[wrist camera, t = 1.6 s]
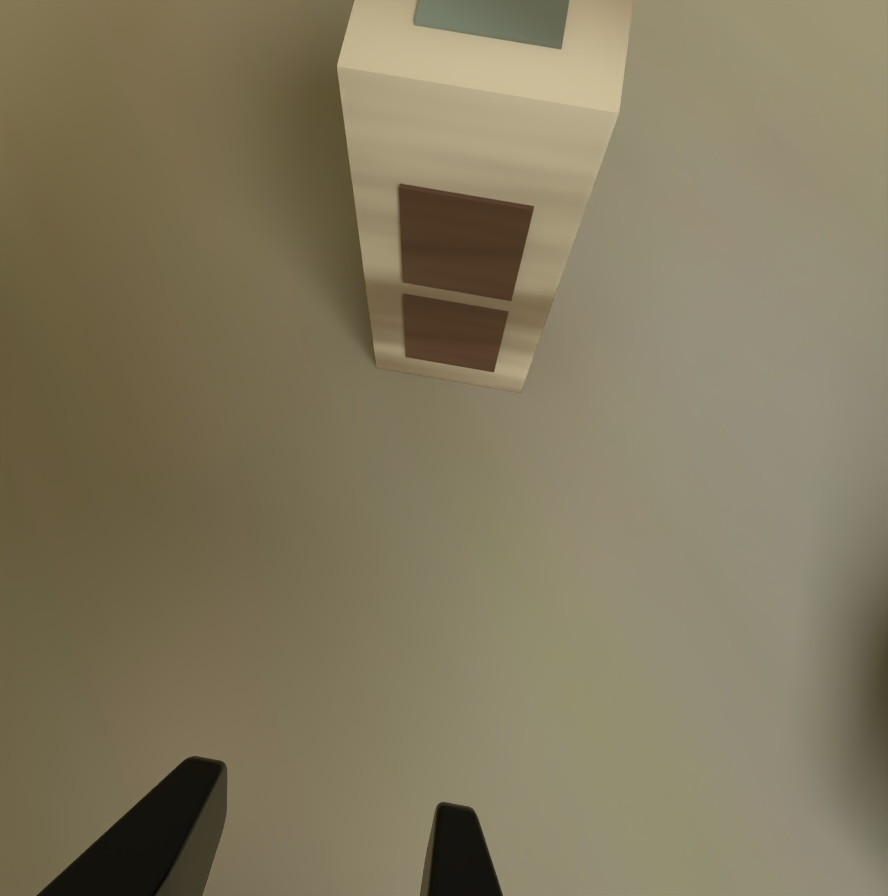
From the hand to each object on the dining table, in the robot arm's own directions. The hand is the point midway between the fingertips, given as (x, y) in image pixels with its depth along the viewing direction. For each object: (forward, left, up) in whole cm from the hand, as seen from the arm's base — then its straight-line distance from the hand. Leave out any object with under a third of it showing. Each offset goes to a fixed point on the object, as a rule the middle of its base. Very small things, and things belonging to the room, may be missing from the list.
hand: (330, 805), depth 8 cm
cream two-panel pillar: (+11, +5, -13) cm, 18 cm away
